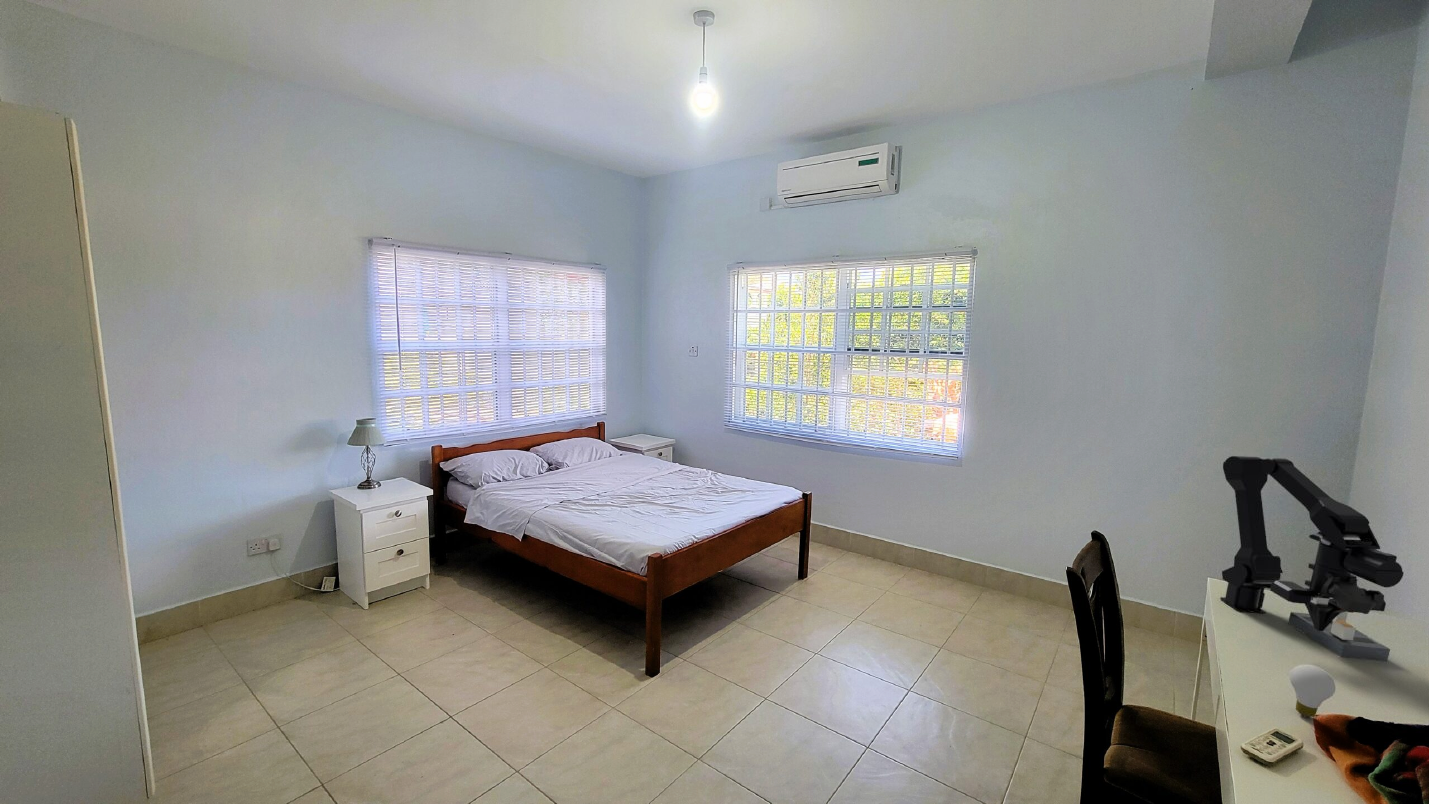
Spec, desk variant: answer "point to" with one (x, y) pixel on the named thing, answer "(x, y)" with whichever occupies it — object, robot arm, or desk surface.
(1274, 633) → the desk surface
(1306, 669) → the light bulb
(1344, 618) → the handle
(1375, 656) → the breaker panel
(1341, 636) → the handle
